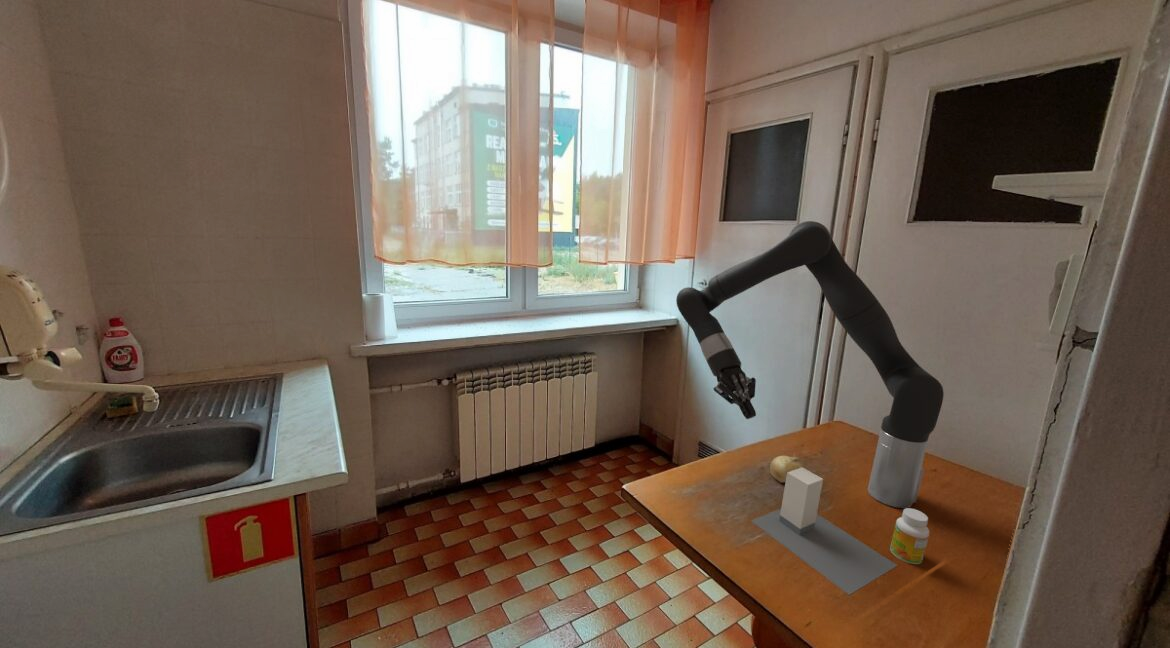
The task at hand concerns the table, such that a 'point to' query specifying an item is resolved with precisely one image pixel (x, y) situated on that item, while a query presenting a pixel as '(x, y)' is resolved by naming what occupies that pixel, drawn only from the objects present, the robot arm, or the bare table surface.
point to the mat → (829, 552)
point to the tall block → (800, 500)
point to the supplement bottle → (910, 536)
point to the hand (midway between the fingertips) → (751, 417)
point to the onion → (784, 467)
